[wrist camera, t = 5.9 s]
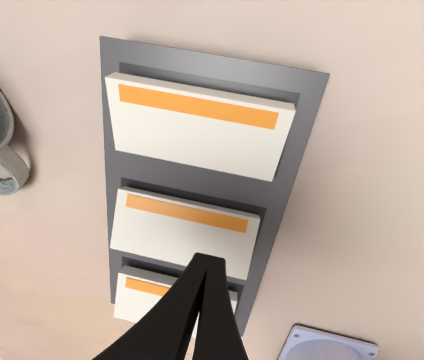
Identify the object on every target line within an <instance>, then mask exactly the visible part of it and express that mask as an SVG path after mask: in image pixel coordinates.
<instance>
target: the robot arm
mask: <svg viewBox="0 0 424 360" xmlns="http://www.w3.org/2000/svg"><path fill="white" fill-rule="evenodd" d="M198 314H199V318H198V326H197V333H196V341H195V348H194V354H193V358H192V360H249V359H248V357H247V354H246V351H245V348H244V346H243V343H242V340H241V337H240V334H239V330H238V327H237V324H236V320H235V316H234V313H233V308H232V304H231V300H230V295H229V290H228V284H227V277H226V260H225V259H224V258H221V257H217V256H212V255H208V254H203V253H199V252H197V253H195V254H194V255H193V257H192V259H191V261H190V262H189V264H188V265H187V267H186V268H185V270H184V271H183V272H182V274H181V275H180V276H179V278H178V279H177V280H176V281H175V283H174V284H173V285H172V286H171V288H170V289H169V290H168V291H167V292H166V293H165V294H164V295H163V297H162V298H161V299H160V300H159V301H158V302H157V303H156V304H155V305H154V306H153V307H152V308H151V309H150V310H149V311H148V312H147V313H146V314H145V315H144V316H143V317H142V318H141V319H140V320H139V321H138V322H137V323H136V324H135V325H134V326H133V327H131V328H130V329H129V330H128V331H127V332H126V333H125V334H124V335H122V336H121V337H120V338H119V339H118V340H116V341H115V342H114V343H113V344H112V345H110V346H109V347H108V348H106V349H105V350H104V351H103V352H101V353H100V354H99V355H97V356H96V357H95V358H93V359H92V360H184V358H185V355H186V352H187V349H188V346H189V342H190V339H191V336H192V333H193V330H194V327H195V324H196V320H197V317H198ZM379 351H380V350H379V348H378V346H377V345H375V344H371V343H367V342H363V341H359V340H355V339H351V338H347V337H343V336H339V335H335V334H331V333H327V332H323V331H319V330H315V329H311V328H307V327H303V326H298V325H297V326H294V327H293V328H292V330H291V332H290V334H289V336H288V339H287V341H286V343H285V345H284V347H283V349H282V351H281V354H280V356H279V358H278V360H374V358H375V357H376V356H377V355H378V353H379Z"/></svg>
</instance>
